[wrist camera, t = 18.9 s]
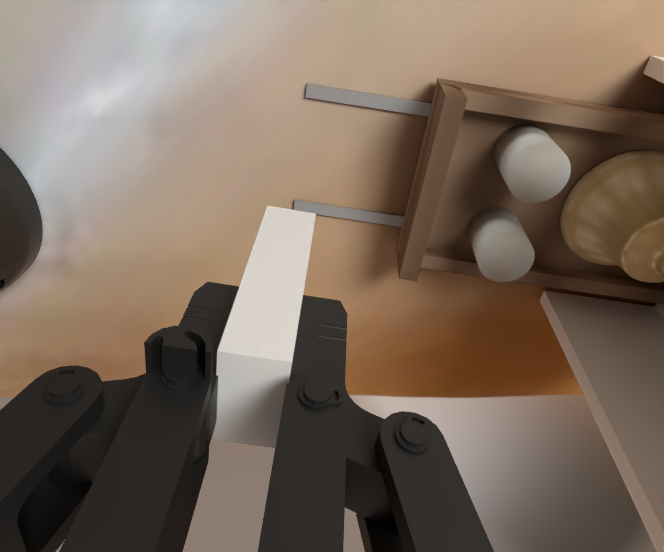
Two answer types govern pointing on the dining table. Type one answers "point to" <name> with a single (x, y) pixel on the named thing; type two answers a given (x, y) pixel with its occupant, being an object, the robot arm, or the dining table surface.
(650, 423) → the white upright box
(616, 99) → the dining table surface
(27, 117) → the dining table surface
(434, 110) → the tray
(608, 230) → the hand bell
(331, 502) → the robot arm
